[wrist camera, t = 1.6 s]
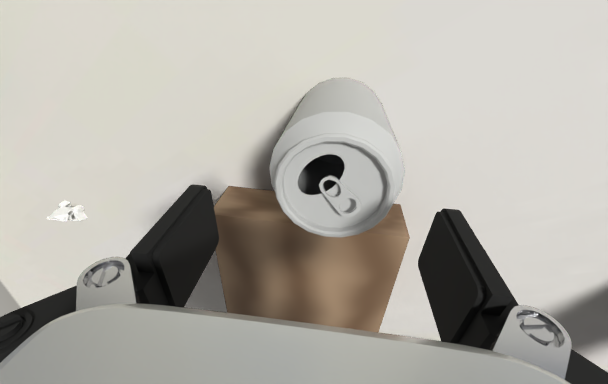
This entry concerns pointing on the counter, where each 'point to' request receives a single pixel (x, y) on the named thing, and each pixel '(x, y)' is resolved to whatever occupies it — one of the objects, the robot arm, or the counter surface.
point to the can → (337, 161)
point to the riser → (304, 264)
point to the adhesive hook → (68, 212)
